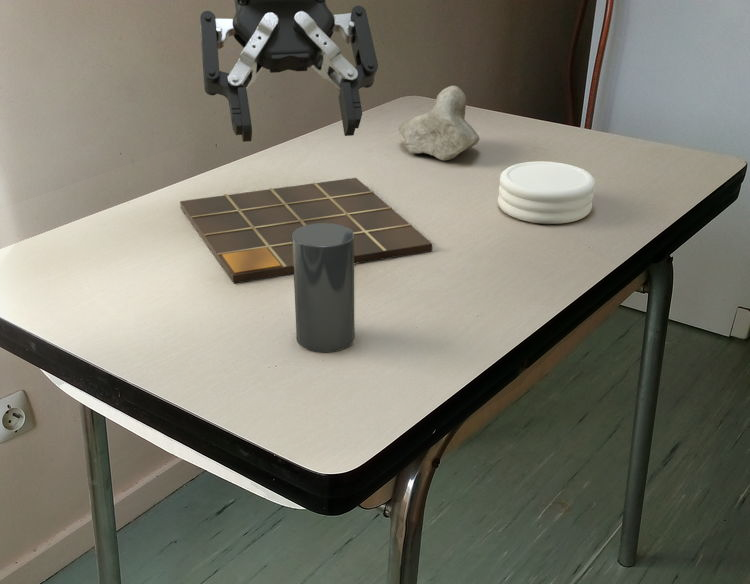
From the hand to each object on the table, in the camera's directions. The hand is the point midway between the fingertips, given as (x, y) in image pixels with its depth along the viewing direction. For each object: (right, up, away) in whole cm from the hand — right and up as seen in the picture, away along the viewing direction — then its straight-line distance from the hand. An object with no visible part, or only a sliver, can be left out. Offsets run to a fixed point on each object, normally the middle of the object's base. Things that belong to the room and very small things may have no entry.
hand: (299, 134), depth 82 cm
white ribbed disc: (+24, +1, +25) cm, 35 cm away
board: (-1, -2, +20) cm, 20 cm away
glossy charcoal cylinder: (+2, -17, +1) cm, 17 cm away
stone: (+13, +11, +39) cm, 42 cm away
